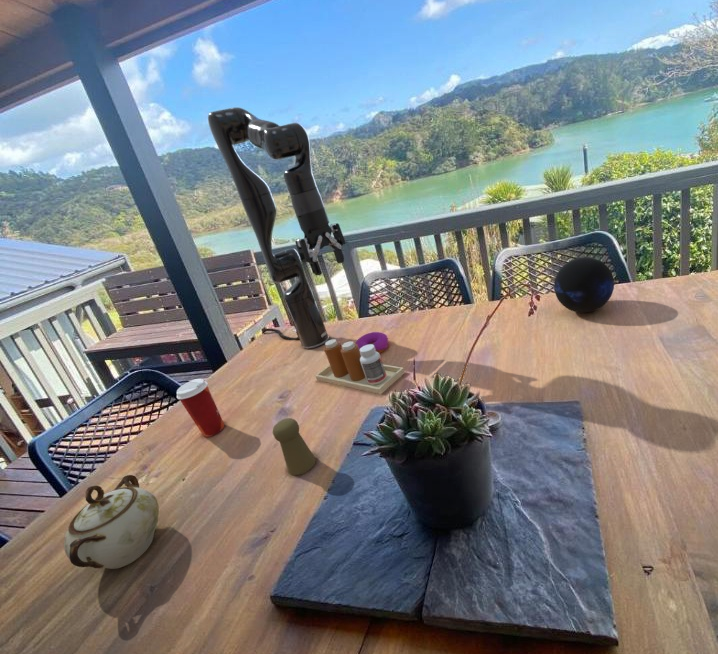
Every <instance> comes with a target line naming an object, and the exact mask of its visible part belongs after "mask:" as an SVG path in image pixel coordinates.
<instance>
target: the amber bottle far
mask: <svg viewBox="0 0 718 654" xmlns="http://www.w3.org/2000/svg"><path fill="white" fill-rule="evenodd" d="M342 348H343V347H342V343H341V342H340V341H338V340H337V339H336V338H332V339H329V340H328V341H327V342H326V343H324V346H323V350H324V353H325V356H326V358H327V361H328V365H330V366H331V369H332V372H333V374H334V377H337V378H339V377H343V376H345V375H347V374H348V370H347V367H346V365H345V362H344V359H343V356H342V354H341V349H342Z"/></svg>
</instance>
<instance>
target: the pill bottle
mask: <svg viewBox="0 0 718 654" xmlns="http://www.w3.org/2000/svg"><path fill="white" fill-rule="evenodd" d="M360 354H361V358H360V362H361V366H362V368H363V371H364V374H365V377H366V380H367V382H368V384H370V385H376V384H380V383H382V382H383V381H384V380H385V379H386V377H387V376H386V372H385V369H384V366H383V365H384V364H383V359H382V356H381V353H378V352H376V349H375V346H374V345H372V344H369V345H365V346H363V347H361V348H360Z"/></svg>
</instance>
